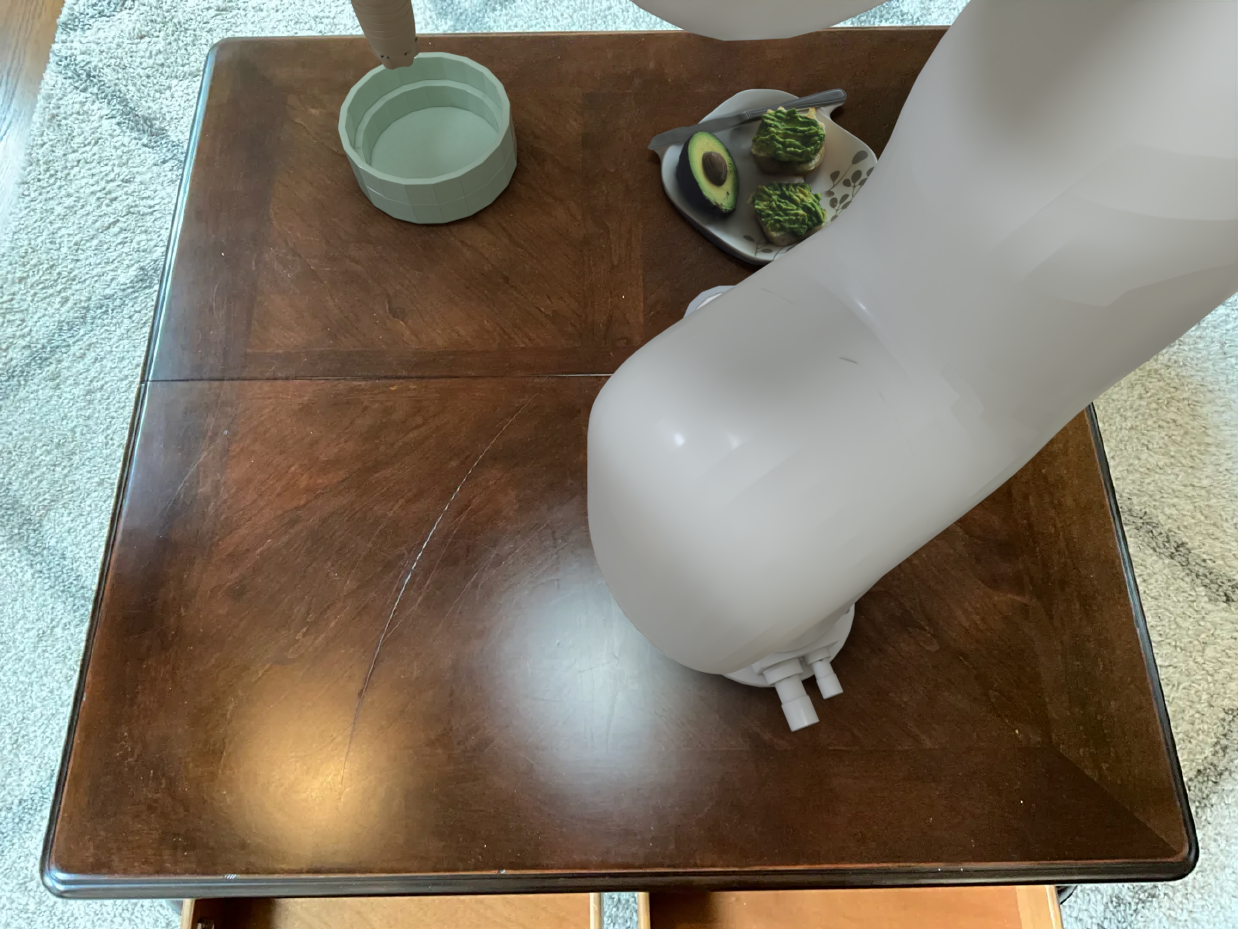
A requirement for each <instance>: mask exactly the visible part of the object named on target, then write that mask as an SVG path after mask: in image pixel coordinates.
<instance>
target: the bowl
mask: <svg viewBox="0 0 1238 929" xmlns="http://www.w3.org/2000/svg"><path fill="white" fill-rule="evenodd" d="M511 107H512V106H511V102H510V100H509V98H508V94H507V92H506V88H505V87H504V84H503V83H502V82H501V81H500V80H499V79H498V78H497V77H496V75H495V74H493V73H492V71H491V70H490V69H489V68H488V67H487V66H485V65H482V64H481V63H479V62H477V61H475V60H473V59H471V58H470V57H467V56H463V55H459V54H455V53H449V52H445V51H430V52H429V51H427V52H425V51H424V52H419V54H418V55H417V56H416V57H415V58H414V60H413V64H412V65H411V66H409V67H399V68H395V69H394V70H390V69H387V68H385V67H384V65H383V63H382V64H380V65H378V66H376V67H375V68H373V69H370V70H369V71H368V72H367V73H366V74H364V76H362V77H361V78H360V79H359V80H358V81H357V82H356V83H355V84H354V85H353V86H352V87H351V88H350V89H349V91H348V93H347V95H346V97H345V99H344V101H343V102H342V104H341V106H340V112H339V120H338V125H337V130H338V131H337V132H338V134H339V138H340V142H341V145H342V148H343V150H344V153H345V155H346V158H347V160H348V162H349V165H350V167H351V169H352V172H353V174H354V176H355V178H356V181H357V183H358V186H359V188H360V190H361V191H362V193H363V194H364V195H365V196H366V197H367V199H368V200H369V201H370V202H371V204H372V205H373V206H374V207H375V208H377V209H378V210H380V211H382V212H384V213H386V214H387V215H389V216H391V217H392V218H394V219H399V220H401V221H406V222H409V223H414V224H423V225H424V224H446V223H449V222H453V221H456V220H461V219H464V218H467V217H470V216H473V215H474V214H476V213H477V212H480V211H481V210H483V209H484V208H485V207H488V206H489V205H491V204H492V203H493V202H494V201H495V200H496V199H497V198H498V197H499V196H500V194H502V192H503V191H504V190H505V189H507V187H508V185H509V183H510V181H511V179H512V177H513V174H514V172H515V169H516V168H517V163H518V162H517V161H518V142H517V137H516V131H515V125H514V119H513V114H512V108H511Z"/></svg>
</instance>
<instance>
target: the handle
mask: <svg viewBox="0 0 1238 929" xmlns="http://www.w3.org/2000/svg"><path fill="white" fill-rule="evenodd" d="M349 1H350V3H351V6H352V7H351V8H353V12H354V14H355V17H356V19H357V21H358V24H359V26H360V28H361V31H362V33H363V34H364V37H365V38H366V41H367V42H368V44H369V48H370V50H371V52H372V54H373V55H374V57H375V59H377V61H378V60H379V61H380V62H381V63H382V64H383V65H384V67H385V68H387V69H390V70H394V69H395V68H399V67H409V66H411V65H412V64H413V60H414V58H415V57H416V56H417V55H418V54H419V53H420V43H419V37H418V36H417V31H416V30H417V28H416V18H415V13H414V7H413V3H412V0H349Z"/></svg>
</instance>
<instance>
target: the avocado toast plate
mask: <svg viewBox="0 0 1238 929" xmlns="http://www.w3.org/2000/svg"><path fill="white" fill-rule="evenodd" d="M846 101H847V93H846V92H845V91H844V90H843V88H832V89H827V90H824V91H819V92H817V93H813V94H809V95H806V96H801V97H798V96H796V95H794V94H791V93H788V92H786V91H783V90H778V89H770V88H751V89H746V90H742V91H740V92H737V93H736V94H734V95H733V96H731V97H730V98H727V99H726V100H725V101H723V102H722V103H720V104H719V105H718V106H717V107H716V108H714V109H713V111H711V112H709V114H707V115H706V116H705V117H704V118H703V119H701V120H700V121H699V122H698V123H694V124H692V125H690V126H685V125H682V126H679V127H675V128H672V129H670V130H667V131H664V132H662V133H659V134H657V135H655V136H653V137H652V138H651V140H650V143H649V144H648V145H647V147H646V149H648V150H651V151H653V152H655V153H656V154H657V155H658V158H659V160H660V179H661V185H662V187H663V190H664V192H665V194H666V195H667V196H666V197H668V199H669V200H670V202H671V203H672V204H673V205H674V207H675V209H677V211H678V212H679V213H680V214H681V215H682V216H683V217H684V218H685V219H686V220H687V221H688V222H689V223H690V224H691V226H693V227H694V228H695V229H696V230H697V231H698V232H700V234H702V235H703V237H705V238H706V239H708V240H709V241H710V242H711V243H712V244H713V245H714V246H716V247H718V248H719V249H721V250H722V251H723V252H725V253H727V254H729V255H730V256H732V257H735V258H737V259H739V260H740V261H743V262H745V263H747V264H750V265H753V266H763V267H765V266H766V265H768V264H769V263H771V262H772V261H774V260H775V259H777V258H778V257H780V256H782V255H783V254H785V253H786V252H788V251H789V250H791V249H792V248H794V247H795V246H797V245H798V244H800V243H801V242H803V241H804V240H806V239H807V238H809V237H810V236H812V235H813V234H815V233H816V232H818V231H819V230H821V229H822V228H824V227H825V226H827V225H828V224H829V223H831V222H832V221H833V220H835V219H836V218H837V217H838V216H839V215H840V214H841V213H843V212H844V211H845V209H846V208H847V207H848V206H849V204H850V203H851V202H852V200H853V199H854V198H855V197H856V195H857V194H858V193H859V192H860V190H861V188H862V187H863V185H864V184H865V182H866V180H867V179H868V177H869V176H870V174H871V173H872V171H873V169H874V167H875V165H876V164H877V162H878V157H877V154H876V153H875V152H874V151H873V149H871V148H870V146H868V145H867V143H865V142H864V141H863V140H861V139H859V138H858V137H856V136H855V135H854V134H852V133H851V132H850V131H847V130H846V129H844V128H843V127H842V126H840V125H839V124H837V123H835V122H834V121H833V120H832V119H831V114H832V112H833V111H834V110H835V109H837V108H839V107H840V106H843V105H844V104H845V103H846Z"/></svg>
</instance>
